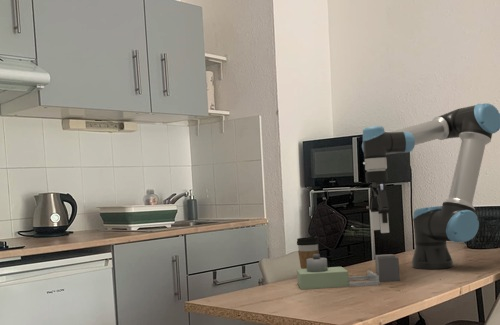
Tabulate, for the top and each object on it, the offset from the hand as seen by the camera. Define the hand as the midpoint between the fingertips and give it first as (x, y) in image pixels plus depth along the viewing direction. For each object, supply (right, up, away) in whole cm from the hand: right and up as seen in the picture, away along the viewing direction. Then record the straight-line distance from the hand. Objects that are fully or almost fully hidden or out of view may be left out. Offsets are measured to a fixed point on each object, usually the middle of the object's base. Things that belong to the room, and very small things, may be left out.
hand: (380, 231), depth 196 cm
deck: (-21, -18, -3) cm, 28 cm away
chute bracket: (-8, -17, -3) cm, 19 cm away
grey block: (+2, -17, -2) cm, 17 cm away
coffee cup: (-23, -19, +16) cm, 34 cm away
